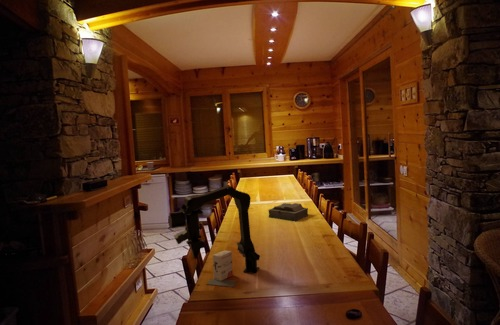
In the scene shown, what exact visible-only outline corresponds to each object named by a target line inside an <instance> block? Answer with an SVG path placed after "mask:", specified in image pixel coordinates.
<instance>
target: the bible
mask: <svg viewBox="0 0 500 325" xmlns="http://www.w3.org/2000/svg"><path fill="white" fill-rule="evenodd" d="M308 212H309V209H308V208H307V207H303V206H302V203H297V202H296V203H295V202H294V203H286V202H283V203H281V204H280V205H277V206H276V205H275V206H274V207H272V208H269V209H268V218H271V219H277V220H282V221H283V220H284V221H290V222H297V221H300V220H302V219H304V218H306V217H309V214H308Z"/></svg>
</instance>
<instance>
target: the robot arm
mask: <svg viewBox="0 0 500 325" xmlns="http://www.w3.org/2000/svg"><path fill="white" fill-rule="evenodd" d="M226 196H229V197H231V198H233V201H234V204H235V207H236V209H237V211H238V212H237V213H238V220H239V221H238V222H239V231H240V233H239V234H240V240H239V241H238V242H236V245H237V251H238V252H239V254H241V256H242V258H244V260H245V267H244V270H243V271H242V272H243V273H245V274H247V273H248V274H257V273H258V271H259V269H260V266H258V261H260V257H261V255H260V254H258V253H257V251H256V249H255V244H254V242H253V241H252V239H251V228H250V218H249V217H250V216H249V209H250V206H251V199H252V198H251V195H250V194H249V193H247V192H244V191H241V190H237V189H235V188H234V187H232V186H230V185H228V184H227V185H224V186H222V187H219V188H217V189H213V190H211V191H208V192H205V193H201V194H191V195H187V196H186V197H184V199H183V203H182V205H181V207H180V209H179V210H178V211H175V212H173V211H172V212H169V214H168V219H167V220H168V222H167V223H168V227H169V228H170V229H177V228H181V227H184V226H185V227H184V230H182V231H179V232H177V233H176V234H174V235H173V237H174V239H175V242H176V244H177V245H180V244H181V243H182V242H186V244H187V245H188V247H189V248H190V250H191V253H192V256H193V258H194V260H195V259H198V256H199V254H200V251H201V249H204V248H206V247H207V246H206V242H205V241H204V240H203V239H202V235H201V229H202V228H201V225H200V214H204V211H202V210H201V209H200V208H202V207H203V206H205V204H207V203H210V202H213V201H216V200H219V199H220V198H221V199H222V198H223V197H226Z"/></svg>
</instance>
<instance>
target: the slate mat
mask: <svg viewBox="0 0 500 325" xmlns="http://www.w3.org/2000/svg"><path fill="white" fill-rule="evenodd" d="M236 284H238V280H229V279H224V280H222V281H219V280H216V279H214V278H210V279H209V281H208V282H207V283H206V286H207V285H208V286H219V287H227V288H234V287H235V286H236Z"/></svg>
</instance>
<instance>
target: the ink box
mask: <svg viewBox="0 0 500 325" xmlns="http://www.w3.org/2000/svg"><path fill="white" fill-rule="evenodd" d="M232 252H233V251H231V250H225V249H224V250H222V251H219V252H216V253H215V254H212V263H213V264H212V268H213V279H216V280H219V281H222V280H227V278H230V277H232V276H233V275H234V272H233V270H234V269H233V253H232Z"/></svg>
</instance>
